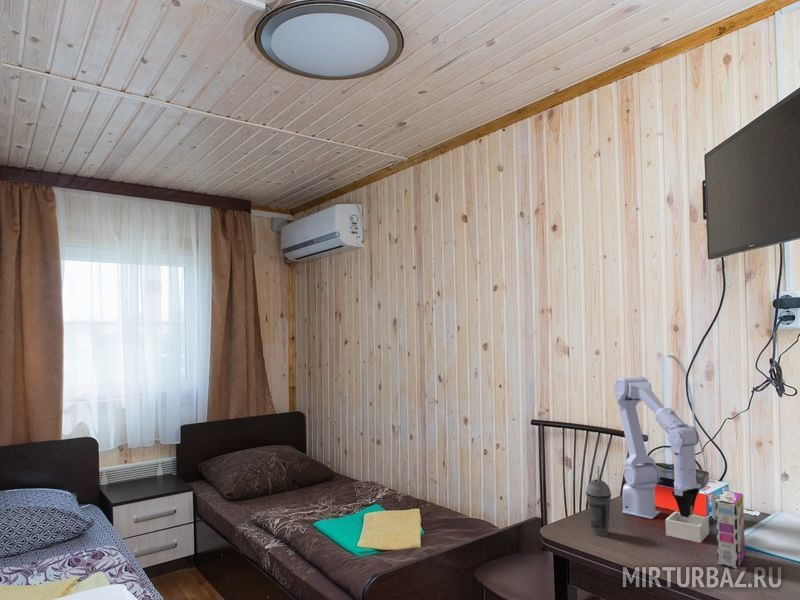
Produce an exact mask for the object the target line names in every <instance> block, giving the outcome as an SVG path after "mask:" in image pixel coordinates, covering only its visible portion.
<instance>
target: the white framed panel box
mask: <svg viewBox="0 0 800 600" xmlns="http://www.w3.org/2000/svg"><path fill="white" fill-rule="evenodd" d="M664 521H665V536H668V537H673V538H677V539H681V540H686V541H691V542H695V543H699V544H700V543H702V542H703V541H704V540H705V539H706V537H708V535H710V523H709V522H710V519H709V517H707V516H700V515H696V514H695V513H693V515H689V524H688V523H685V517H683V516H681V515H680V512H679V511H674V512H672V513H671V514H670V515H669V516H668V517H666V519H664Z"/></svg>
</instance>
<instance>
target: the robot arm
mask: <svg viewBox="0 0 800 600" xmlns="http://www.w3.org/2000/svg"><path fill="white" fill-rule="evenodd" d="M613 392H614V397H615V400H616V404H617V405H618V410H619V411H618V412H619V415H620V419H621V424H622V428H623V433H624V438H625V441H626V446H627V450H628V451H627V452H628V455H629V456H628V457H627V458H626V460H625V461H624V462H623V466H624V467H623V469H624V472H623V475H624V479H625V482H626V483H625V484H624V485H623V488H622V494H621V495H622V514H626V515H632V516H636V517H640V518H646V519H650V520H652V519H654V518H655V517H656V516H658V515H660V514H661V511H659V510H656V495H655V491H656V490H655V487H657V484H658V483H659V482H660V479H661V473H660V471H659V469H658V467H657V465H656V461H655V459H654V458H653V457H651V456H649V455H648V454H647V450H646V446H645V441H644V437H643V433H642V429H641V423H640V419H639V416H638V412H637V406H638V404H639V403H641V401H642V402H643V403H644V405H646V406H647V407H648V408H649V410H651V411H652V412H653V413H654V414H655V420H656V422H657V423H658V424H659V425H660V427H661V428H662V429H663V430H664V431H665V432H666V434H667V440H668V443H669V444H670V449H671V451H672V453H673V476H674V479H673V480H674V481H673V486H674V488H673V490H672V491H671V494H672V495H671V496H673V497H674V499H675V502H676V504H677V508H678V512H680V515H681V516H683V517H689V515H690V507H691V505H692V506H693V512H694V510H695V504H696V500H697V497H698V495H699V493H700V488H702V485H701V483H700V484H699V483H697V470H696V449H695V447H696V445H698V443H699V442H700V441H699V440H700V436H699V435H700V434H699V433H698V430H697V429H696V427H694V426H693V425H690V424H689V425H688V423H685V422H684V421H683V420H682V419H681V418H680V417H679V416H678V415H677V413H676V412H675V410H674V409H672V408H670V407H665V406H664V405H663V403H662V402H661V401H660V399H659V398H658V397H657V395H656V394H655V393H654V392H653V390H652V383H651V382H649V380H648V378H646V377H645V376H637V377H636V376H635V377H618V378H617V379H616V381H615V382H614V384H613Z"/></svg>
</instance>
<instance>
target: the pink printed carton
mask: <svg viewBox="0 0 800 600" xmlns="http://www.w3.org/2000/svg"><path fill="white" fill-rule="evenodd" d="M719 495H720V496H719V497H718V498H717V499H716V520H715V521H716V547H717V548H716V549H717V552H716V553H717V554H716V556H717V565H718V566H722V567H726V568H729V569H730V568H731V569H734V570H740V567H741V564H742V562H743V560H744V559H745V556H746V543H745V542H746V540H745V515H744V511H745V510H744V509H745V508H744V494H743V493H738V492H733V491H726V490H723V491H722V492H721V493H720V494H719Z"/></svg>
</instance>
